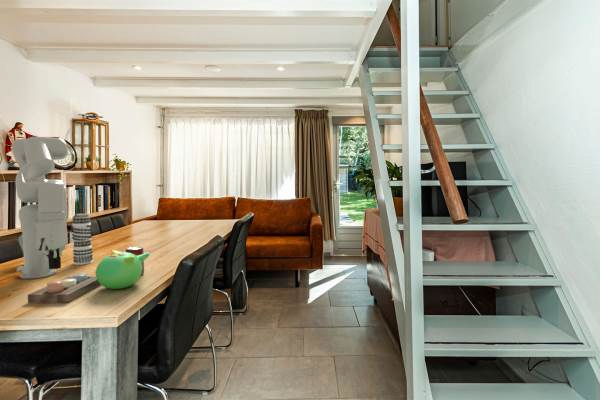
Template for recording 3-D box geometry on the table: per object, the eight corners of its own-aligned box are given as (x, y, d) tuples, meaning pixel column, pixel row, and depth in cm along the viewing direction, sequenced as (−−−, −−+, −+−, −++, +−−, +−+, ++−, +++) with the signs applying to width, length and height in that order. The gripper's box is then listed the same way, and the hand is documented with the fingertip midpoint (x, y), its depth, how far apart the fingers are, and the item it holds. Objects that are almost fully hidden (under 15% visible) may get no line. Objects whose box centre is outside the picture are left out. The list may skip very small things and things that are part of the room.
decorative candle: (88, 259, 185) (86, 212, 183) (97, 262, 179) (95, 213, 178) (69, 263, 177) (67, 214, 176) (77, 265, 172) (75, 215, 170)
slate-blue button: (69, 287, 136) (69, 277, 136) (77, 283, 141) (77, 273, 141) (82, 287, 136) (82, 277, 136) (90, 283, 141) (89, 273, 141)
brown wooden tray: (28, 303, 121) (27, 294, 121) (69, 283, 143) (68, 276, 142) (68, 302, 121) (68, 294, 121) (103, 283, 143) (103, 276, 143)
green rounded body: (110, 281, 146) (109, 246, 145) (151, 280, 148) (150, 245, 147) (87, 295, 128) (86, 256, 127) (135, 294, 130) (133, 255, 129)
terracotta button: (43, 295, 122) (43, 284, 122) (53, 291, 127) (53, 280, 127) (58, 295, 122) (57, 284, 122) (67, 291, 127) (67, 280, 127)
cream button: (57, 293, 129) (57, 282, 129) (66, 288, 134) (66, 278, 134) (71, 293, 129) (70, 282, 129) (79, 288, 134) (79, 278, 134)
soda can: (137, 277, 152) (136, 250, 151) (122, 276, 153) (121, 249, 152) (147, 272, 159) (146, 246, 158) (133, 272, 160) (132, 246, 159)
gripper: (56, 215, 130) (58, 263, 131) (25, 219, 115) (28, 274, 116) (76, 214, 130) (78, 263, 131) (47, 219, 115) (50, 273, 116)
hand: (55, 268), depth 124 cm, fingers closed
